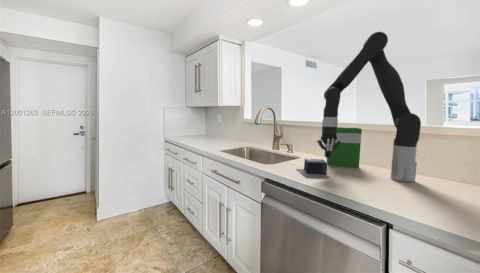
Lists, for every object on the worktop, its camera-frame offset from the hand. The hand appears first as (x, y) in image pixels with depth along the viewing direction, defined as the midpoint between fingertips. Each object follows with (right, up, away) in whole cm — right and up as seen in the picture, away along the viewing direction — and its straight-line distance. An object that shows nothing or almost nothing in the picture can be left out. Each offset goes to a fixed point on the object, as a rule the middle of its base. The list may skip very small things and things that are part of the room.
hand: (327, 157), depth 121 cm
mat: (-9, -9, 0) cm, 12 cm away
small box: (-1, -5, +1) cm, 5 cm away
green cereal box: (+17, -7, +21) cm, 28 cm away
